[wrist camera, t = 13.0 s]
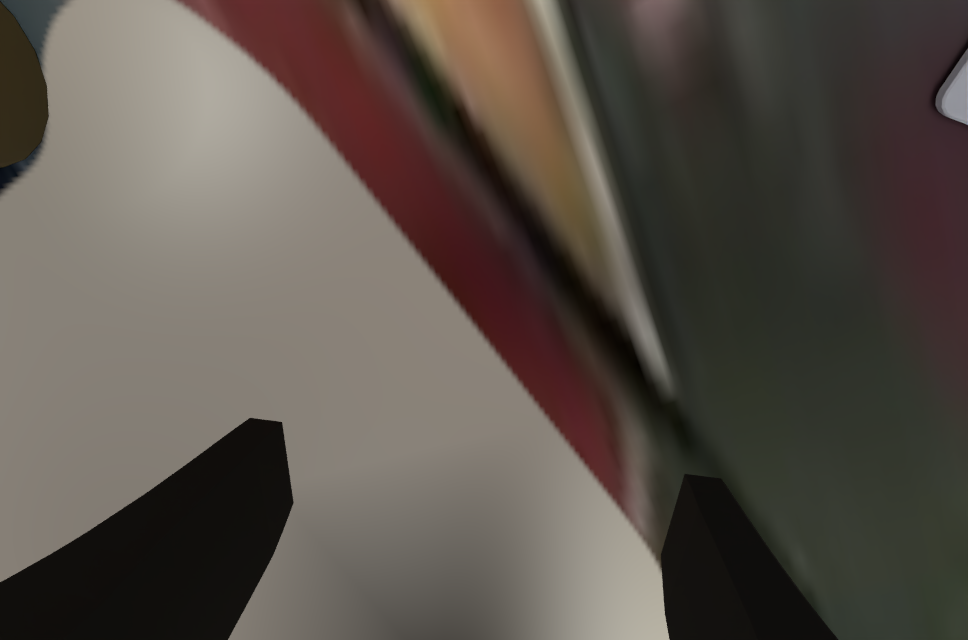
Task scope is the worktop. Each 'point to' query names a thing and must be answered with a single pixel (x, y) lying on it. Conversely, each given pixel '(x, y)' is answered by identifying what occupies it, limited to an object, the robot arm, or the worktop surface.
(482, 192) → the worktop surface
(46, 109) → the cork
